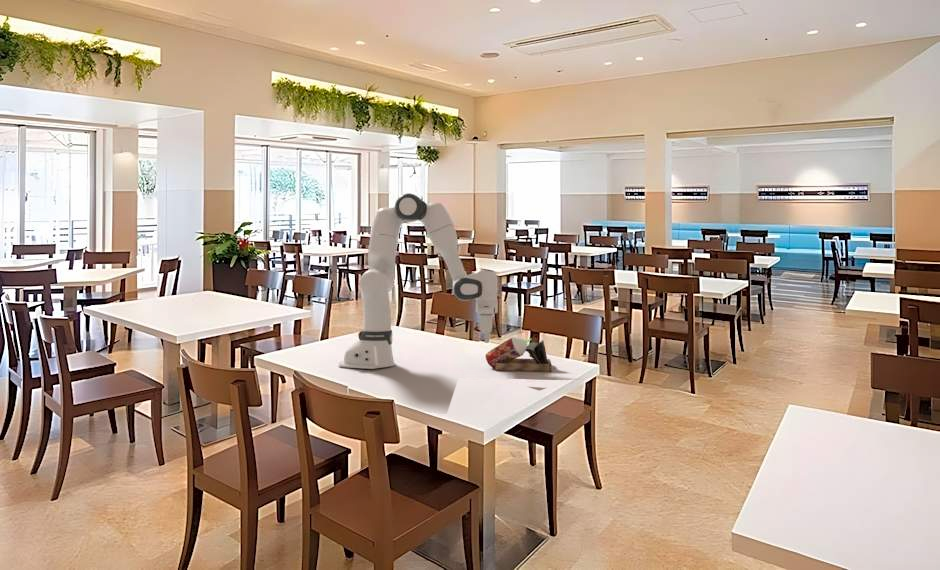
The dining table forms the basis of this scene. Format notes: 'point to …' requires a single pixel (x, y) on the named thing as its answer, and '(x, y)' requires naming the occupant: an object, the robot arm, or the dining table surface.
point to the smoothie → (507, 351)
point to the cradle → (524, 366)
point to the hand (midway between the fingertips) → (486, 342)
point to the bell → (537, 352)
